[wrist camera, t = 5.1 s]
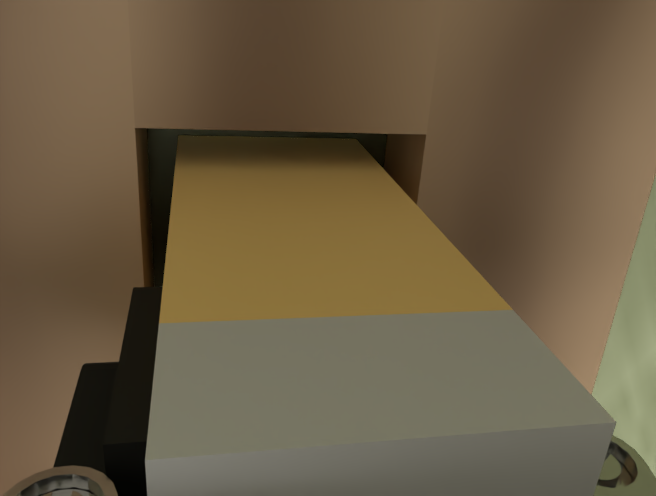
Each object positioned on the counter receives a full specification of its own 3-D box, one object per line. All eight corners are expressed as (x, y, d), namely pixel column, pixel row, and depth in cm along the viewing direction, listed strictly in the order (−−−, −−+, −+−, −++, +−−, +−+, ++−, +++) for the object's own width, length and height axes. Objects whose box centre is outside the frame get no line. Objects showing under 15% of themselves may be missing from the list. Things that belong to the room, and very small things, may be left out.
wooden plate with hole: (657, -136, 13) (751, -157, 11) (503, 501, 20) (540, 567, 18) (-215, -245, 10) (-333, -305, 8) (-32, 557, 17) (-65, 645, 15)
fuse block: (356, 138, 14) (617, 421, 5) (336, 357, 17) (496, 801, 8) (178, 135, 14) (145, 460, 5) (185, 364, 16) (171, 870, 7)
